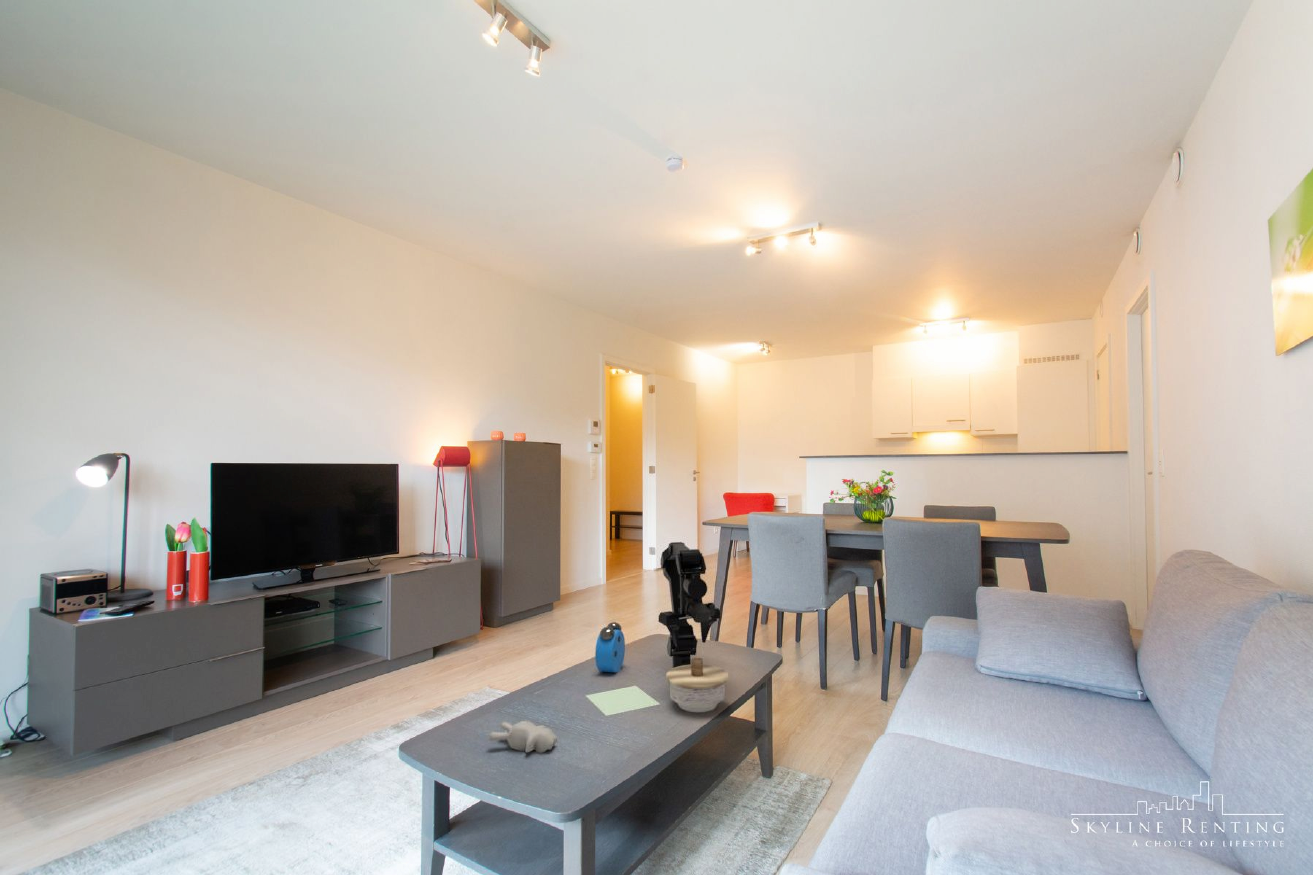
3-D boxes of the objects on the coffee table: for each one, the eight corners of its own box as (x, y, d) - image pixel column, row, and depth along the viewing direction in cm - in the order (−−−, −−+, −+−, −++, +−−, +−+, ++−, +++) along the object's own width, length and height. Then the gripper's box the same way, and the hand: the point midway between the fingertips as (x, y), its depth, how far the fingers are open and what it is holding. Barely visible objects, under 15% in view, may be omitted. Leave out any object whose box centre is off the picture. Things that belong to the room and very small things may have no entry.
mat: (585, 697, 172) (585, 695, 172) (635, 687, 179) (635, 685, 179) (606, 717, 158) (606, 715, 158) (660, 706, 165) (660, 704, 165)
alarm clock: (608, 664, 201) (608, 619, 202) (626, 665, 199) (625, 620, 200) (594, 677, 188) (594, 629, 189) (613, 679, 187) (613, 630, 187)
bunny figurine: (546, 741, 136) (487, 727, 139) (544, 763, 136) (484, 749, 139) (562, 723, 145) (506, 711, 149) (560, 744, 145) (503, 732, 148)
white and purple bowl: (705, 723, 154) (704, 691, 154) (658, 709, 163) (658, 679, 164) (735, 704, 166) (735, 675, 166) (691, 692, 175) (690, 664, 176)
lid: (656, 673, 169) (656, 655, 169) (708, 664, 176) (708, 647, 176) (684, 693, 153) (683, 673, 154) (740, 682, 161) (739, 663, 161)
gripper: (675, 600, 167) (676, 656, 167) (730, 593, 176) (731, 647, 175) (657, 593, 177) (658, 646, 177) (710, 586, 186) (711, 637, 185)
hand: (690, 644), depth 178 cm, fingers open, 9 cm apart
